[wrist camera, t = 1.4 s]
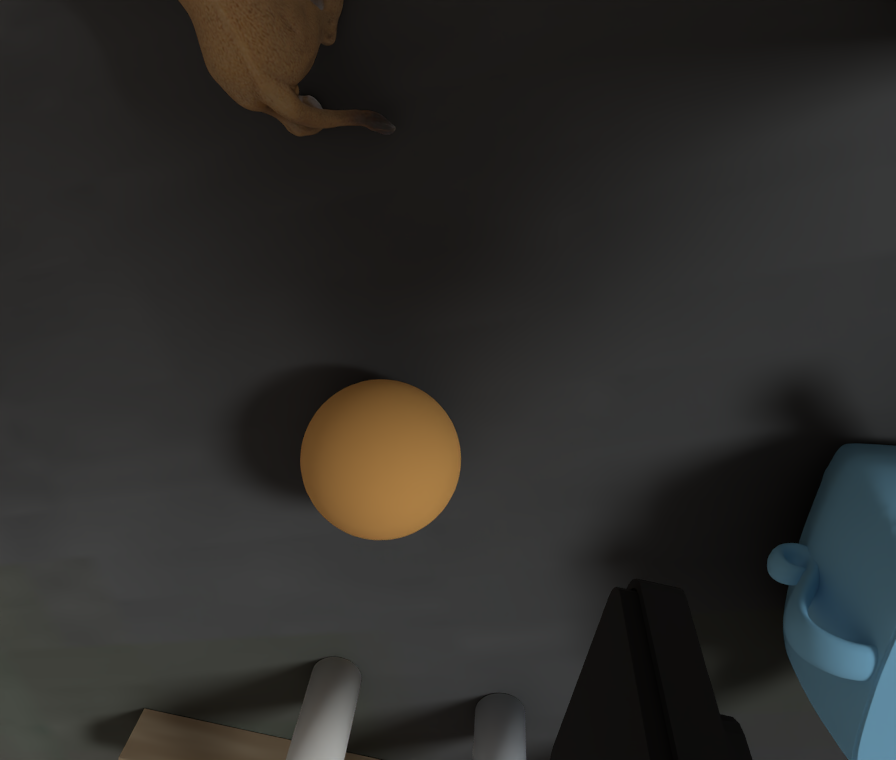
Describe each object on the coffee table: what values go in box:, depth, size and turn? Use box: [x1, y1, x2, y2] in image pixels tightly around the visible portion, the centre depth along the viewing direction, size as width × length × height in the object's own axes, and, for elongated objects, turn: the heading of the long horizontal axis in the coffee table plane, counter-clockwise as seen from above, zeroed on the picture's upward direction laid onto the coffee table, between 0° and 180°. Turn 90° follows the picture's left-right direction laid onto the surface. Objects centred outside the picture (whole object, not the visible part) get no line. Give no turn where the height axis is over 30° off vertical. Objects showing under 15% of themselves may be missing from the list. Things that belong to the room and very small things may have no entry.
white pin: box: [286, 657, 362, 760], centre depth 37 cm, size 2×2×8 cm
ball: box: [300, 379, 461, 540], centre depth 32 cm, size 6×6×6 cm
